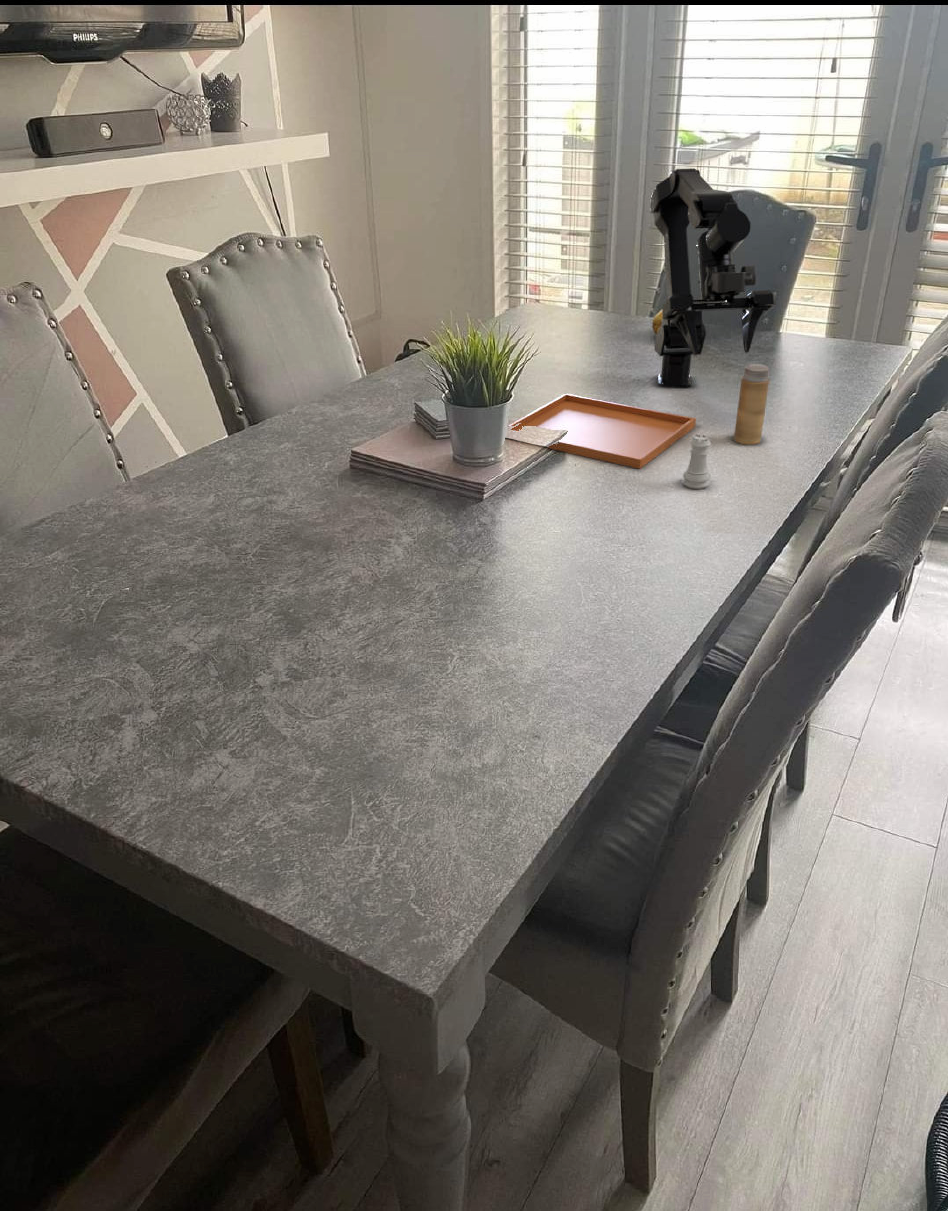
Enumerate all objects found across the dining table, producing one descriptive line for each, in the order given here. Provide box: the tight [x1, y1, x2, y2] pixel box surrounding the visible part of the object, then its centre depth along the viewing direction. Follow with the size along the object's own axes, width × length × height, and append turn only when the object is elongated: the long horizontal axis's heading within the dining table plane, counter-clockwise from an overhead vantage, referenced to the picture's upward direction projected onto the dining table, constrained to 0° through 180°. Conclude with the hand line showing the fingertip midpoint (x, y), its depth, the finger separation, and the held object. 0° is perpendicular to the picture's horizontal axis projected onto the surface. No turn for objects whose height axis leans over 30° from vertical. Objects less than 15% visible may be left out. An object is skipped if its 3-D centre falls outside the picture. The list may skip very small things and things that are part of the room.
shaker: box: [733, 363, 770, 446], centre depth 166 cm, size 5×5×13 cm
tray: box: [509, 393, 697, 470], centre depth 174 cm, size 23×27×2 cm
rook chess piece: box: [681, 433, 712, 490], centre depth 151 cm, size 4×4×8 cm
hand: (721, 353), depth 169 cm, fingers open, 9 cm apart
